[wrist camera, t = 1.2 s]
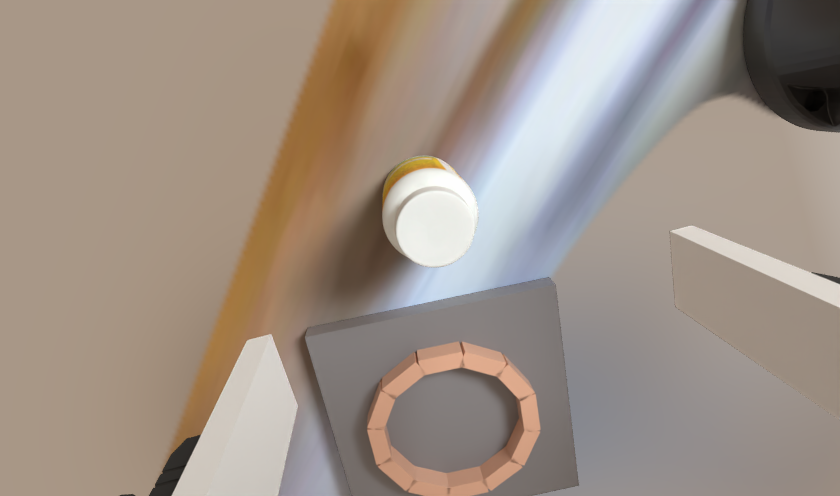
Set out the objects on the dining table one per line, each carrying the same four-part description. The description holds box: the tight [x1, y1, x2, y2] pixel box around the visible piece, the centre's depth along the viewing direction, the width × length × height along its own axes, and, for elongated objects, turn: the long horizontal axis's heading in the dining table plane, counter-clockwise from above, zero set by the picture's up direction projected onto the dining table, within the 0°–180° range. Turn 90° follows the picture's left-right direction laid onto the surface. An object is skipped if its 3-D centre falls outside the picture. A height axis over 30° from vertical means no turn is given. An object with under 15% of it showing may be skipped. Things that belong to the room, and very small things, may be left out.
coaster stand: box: [305, 277, 579, 496], centre depth 37 cm, size 18×18×3 cm
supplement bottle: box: [382, 156, 478, 267], centre depth 29 cm, size 5×5×10 cm
